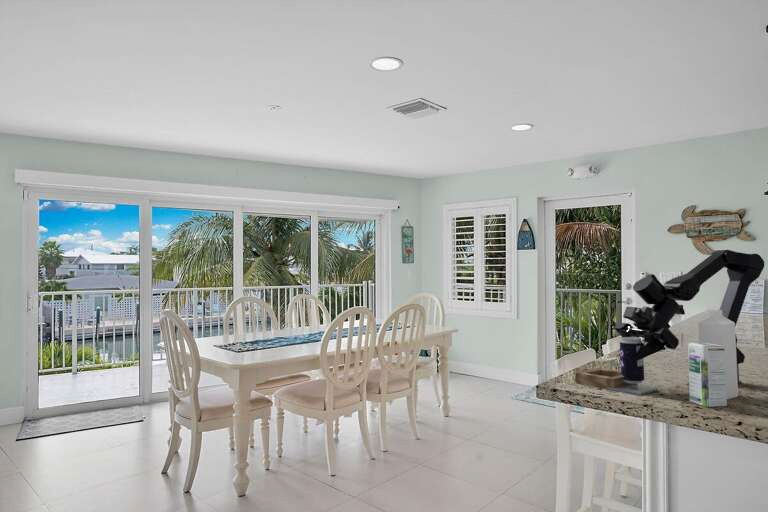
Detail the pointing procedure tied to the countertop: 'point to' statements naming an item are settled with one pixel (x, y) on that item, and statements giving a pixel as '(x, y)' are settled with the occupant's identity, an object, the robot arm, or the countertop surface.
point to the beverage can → (631, 360)
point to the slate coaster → (633, 389)
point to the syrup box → (707, 374)
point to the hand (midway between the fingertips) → (627, 358)
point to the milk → (722, 334)
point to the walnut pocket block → (600, 378)
